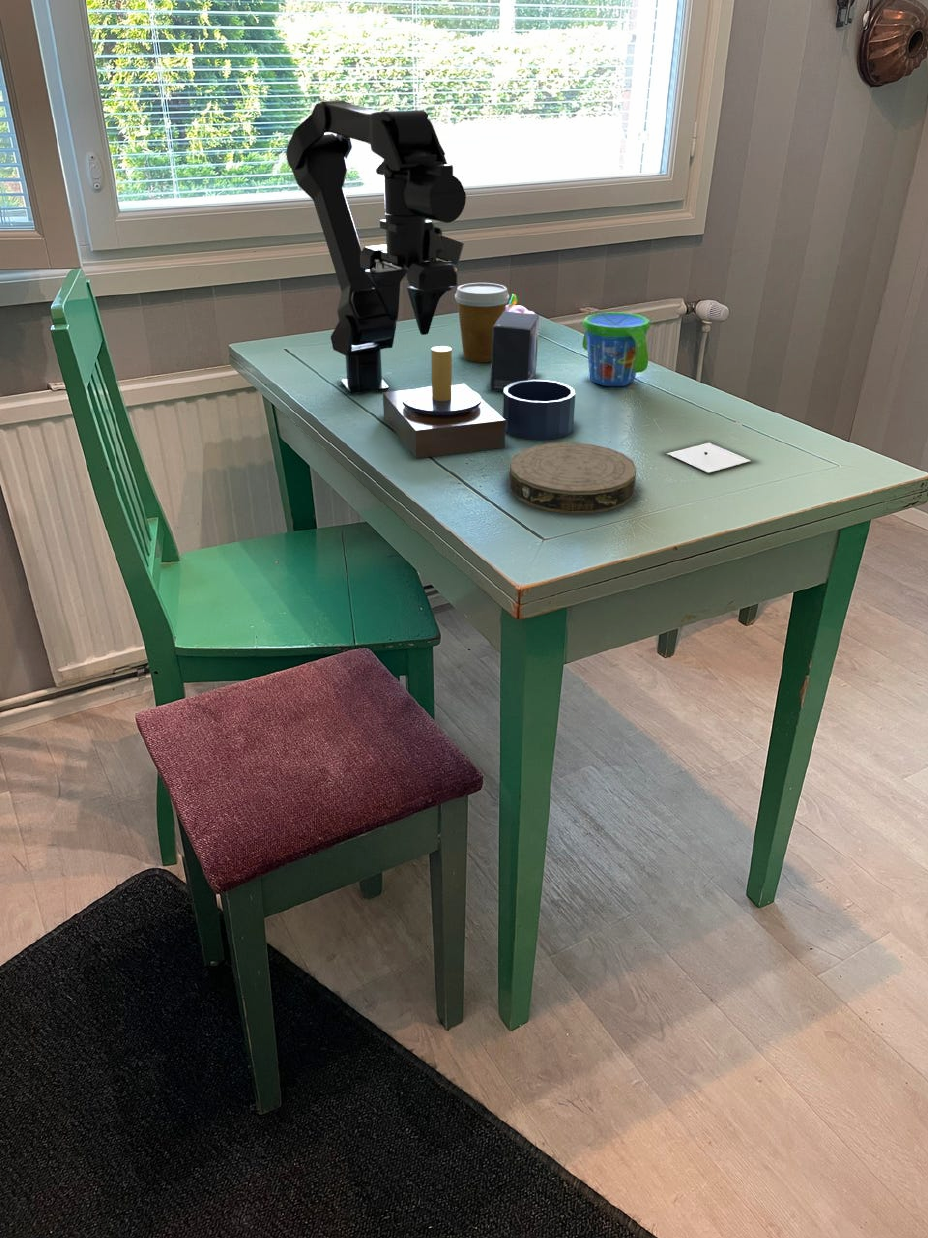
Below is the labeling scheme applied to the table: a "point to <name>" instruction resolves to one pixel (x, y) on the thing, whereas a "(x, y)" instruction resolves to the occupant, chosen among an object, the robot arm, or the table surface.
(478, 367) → the table surface
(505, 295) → the disposable coffee cup
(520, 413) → the tin
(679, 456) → the coaster
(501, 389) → the small box
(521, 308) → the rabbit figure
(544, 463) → the brown flat disc
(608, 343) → the snack cup
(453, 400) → the lid
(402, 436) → the block
